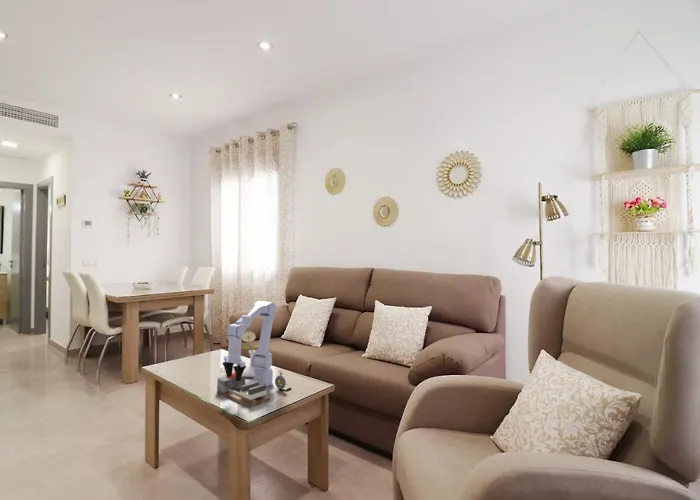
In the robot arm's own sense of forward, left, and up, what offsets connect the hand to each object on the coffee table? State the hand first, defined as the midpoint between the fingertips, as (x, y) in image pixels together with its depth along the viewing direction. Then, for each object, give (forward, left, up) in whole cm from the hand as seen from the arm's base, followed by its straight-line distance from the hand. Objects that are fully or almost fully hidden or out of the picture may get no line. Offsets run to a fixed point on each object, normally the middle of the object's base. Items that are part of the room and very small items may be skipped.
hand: (233, 378), depth 177 cm
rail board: (-6, -1, -10) cm, 12 cm away
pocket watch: (-26, +5, -10) cm, 29 cm away
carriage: (-6, +7, -7) cm, 12 cm away
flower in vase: (-27, -24, -10) cm, 38 cm away
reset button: (-6, -11, -5) cm, 14 cm away
